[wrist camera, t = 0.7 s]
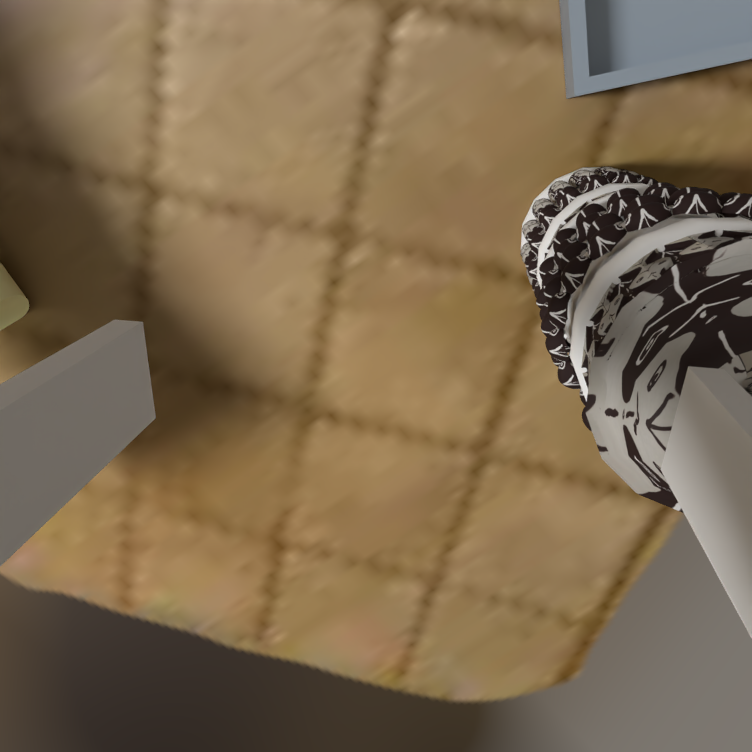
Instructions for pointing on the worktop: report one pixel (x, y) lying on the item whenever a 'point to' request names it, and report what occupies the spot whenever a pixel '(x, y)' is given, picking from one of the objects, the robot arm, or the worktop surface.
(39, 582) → the worktop surface
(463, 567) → the worktop surface
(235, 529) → the worktop surface
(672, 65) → the tray
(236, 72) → the worktop surface
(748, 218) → the decorative candle
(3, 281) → the slatted curved stool
